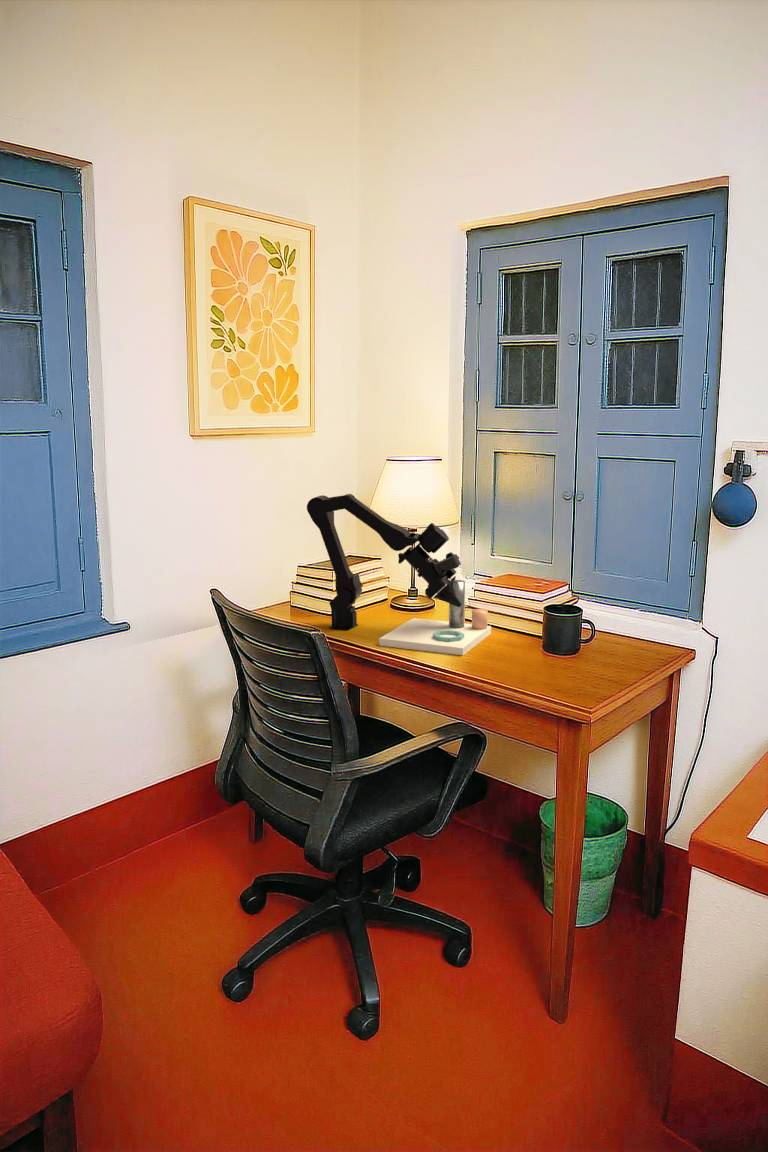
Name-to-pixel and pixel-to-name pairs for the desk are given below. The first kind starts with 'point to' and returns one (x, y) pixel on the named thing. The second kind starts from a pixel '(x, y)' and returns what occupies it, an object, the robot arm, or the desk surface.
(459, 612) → the shiny metal cylinder
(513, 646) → the desk surface
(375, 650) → the desk surface
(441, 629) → the board
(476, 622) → the peach rounded cylinder
